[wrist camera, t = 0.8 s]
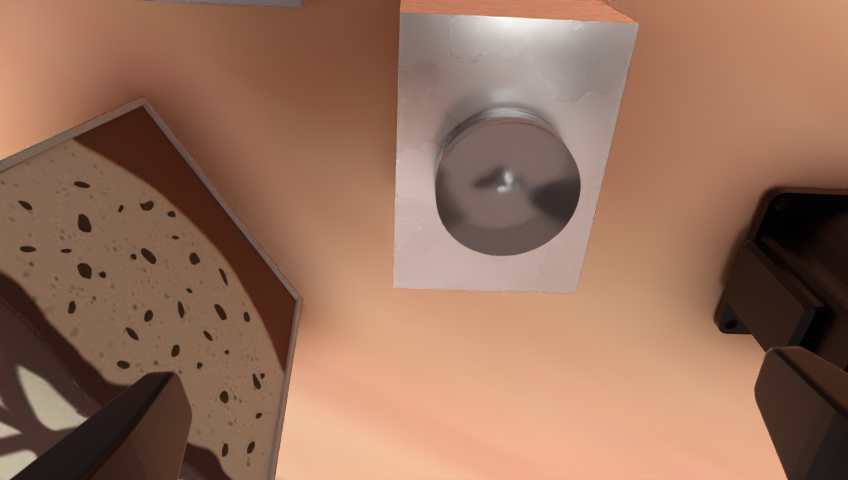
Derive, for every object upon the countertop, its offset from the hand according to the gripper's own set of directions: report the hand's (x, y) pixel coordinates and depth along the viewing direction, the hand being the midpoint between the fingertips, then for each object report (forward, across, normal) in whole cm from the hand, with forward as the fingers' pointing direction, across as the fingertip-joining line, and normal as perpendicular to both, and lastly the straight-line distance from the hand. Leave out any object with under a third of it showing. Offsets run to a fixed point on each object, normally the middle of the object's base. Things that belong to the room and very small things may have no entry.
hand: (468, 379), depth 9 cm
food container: (+12, +11, +4) cm, 17 cm away
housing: (+12, -1, -1) cm, 12 cm away
